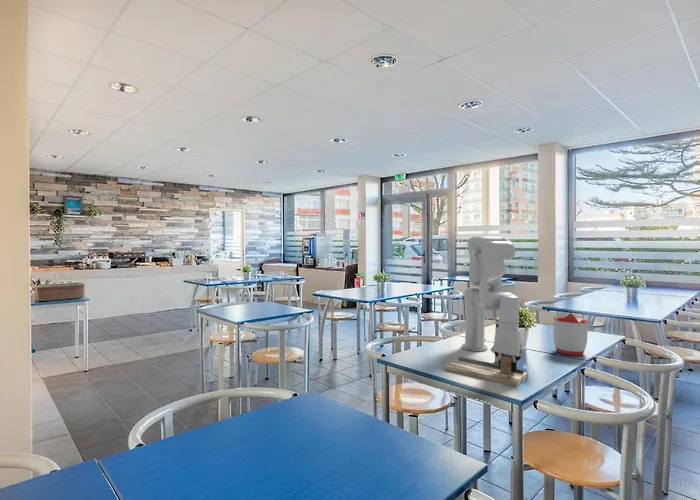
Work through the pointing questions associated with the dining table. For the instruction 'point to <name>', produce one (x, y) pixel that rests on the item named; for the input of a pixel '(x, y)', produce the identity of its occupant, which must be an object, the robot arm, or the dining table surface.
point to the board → (486, 371)
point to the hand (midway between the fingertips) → (507, 369)
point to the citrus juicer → (570, 335)
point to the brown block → (506, 364)
